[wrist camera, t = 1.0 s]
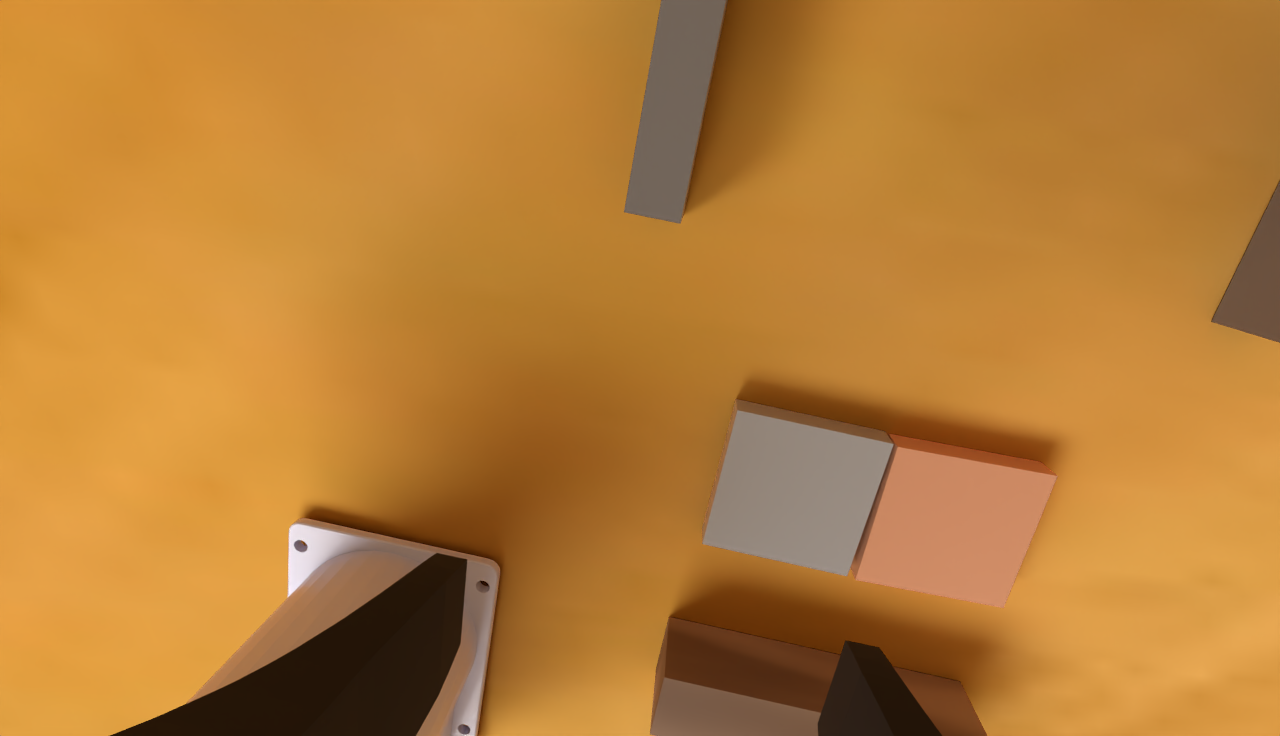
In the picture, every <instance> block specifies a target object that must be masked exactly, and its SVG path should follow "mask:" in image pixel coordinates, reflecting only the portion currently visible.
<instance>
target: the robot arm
mask: <svg viewBox="0 0 1280 736" xmlns="http://www.w3.org/2000/svg"><path fill="white" fill-rule="evenodd" d="M301 540H302V541H304V542H305V543H306V544H307V546H305V545H303V544H302V542H301ZM499 579H500V568H499V566H498V564H497V563H496V562H495V561H493V560H491V559H488V558H484V557H479V556H475V555H470V554H466V553H461V552H457V551H452V550H448V549H443V548H438V547H434V546H429V545H425V544H420V543H416V542H411V541H407V540H402V539H398V538H393V537H389V536H384V535H380V534H375V533H371V532H366V531H362V530H357V529H353V528H348V527H344V526H339V525H335V524H330V523H326V522H321V521H317V520H312V519H308V518H301V519H298V520H297V521H296V522H294V523H293V524H292V525H291V526H290V529H289V557H288V598H287V599H286V600H285V601H284V602H283V603H282V604H281V605H280V606H279V607H278V609H277V610H276V611H275V612H274V613H273V614H272V615H271V616H270V617H269V618H268V619H267V620H266V621H265V622H264V623H263V624H262V625H261V626H260V627H259V628H258V629H257V630H256V631H255V632H254V633H253V635H252V636H251V637H250V638H249V639H248V640H247V641H246V642H245V643H244V644H243V645H242V646H241V647H240V648H239V649H238V650H237V651H236V652H235V653H234V654H233V655H232V656H231V657H230V658H229V659H228V661H227V662H226V663H225V664H224V665H223V666H222V667H221V668H220V669H219V670H218V671H217V672H216V673H215V674H214V675H213V676H212V677H211V678H210V679H209V680H208V681H207V682H206V683H205V684H204V686H203V687H202V688H201V689H200V690H199V691H198V692H197V693H196V694H195V695H194V696H193V697H192V698H191V699H190V700H189V701H188V702H187V703H186V704H185V705H183V706H180V707H178V708H176V709H174V710H172V711H169V712H167V713H165V714H163V715H160V716H158V717H156V718H153V719H151V720H148V721H146V722H143V723H141V724H138V725H136V726H133V727H131V728H128V729H126V730H123V731H121V732H118V733H116V734H113V735H110V736H477V735H478V728H479V721H480V713H481V706H482V699H483V692H484V685H485V678H486V671H487V664H488V657H489V650H490V642H491V635H492V628H493V621H494V614H495V607H496V600H497V593H498V586H499ZM480 581H485V582H487V583H488V584H489V586H484V585H482V584H481V583H480ZM463 724H465V725H467V726H465V725H463ZM818 736H942V734H941V733H940V732H939V730H938V729H937V728H936V726H935V725H934V724H933V722H932V721H931V720H930V718H929V717H928V715H927V714H926V713H925V711H924V710H923V708H922V707H921V706H920V704H919V703H918V701H917V700H916V699H915V697H914V696H913V694H912V693H911V692H910V690H909V689H908V687H907V686H906V685H905V683H904V682H903V680H902V679H901V678H900V676H899V675H898V673H897V672H896V670H895V669H894V668H893V666H892V665H891V663H890V662H889V661H888V659H887V658H886V656H885V655H884V654H883V652H882V651H881V650H880V648H879V647H874V646H869V645H865V644H860V643H855V642H851V641H845V644H844V647H843V650H842V653H841V656H840V659H839V661H838V664H837V667H836V670H835V673H834V676H833V679H832V682H831V685H830V688H829V691H828V694H827V697H826V700H825V703H824V706H823V709H822V712H821V715H820V718H819V721H818Z"/></svg>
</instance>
